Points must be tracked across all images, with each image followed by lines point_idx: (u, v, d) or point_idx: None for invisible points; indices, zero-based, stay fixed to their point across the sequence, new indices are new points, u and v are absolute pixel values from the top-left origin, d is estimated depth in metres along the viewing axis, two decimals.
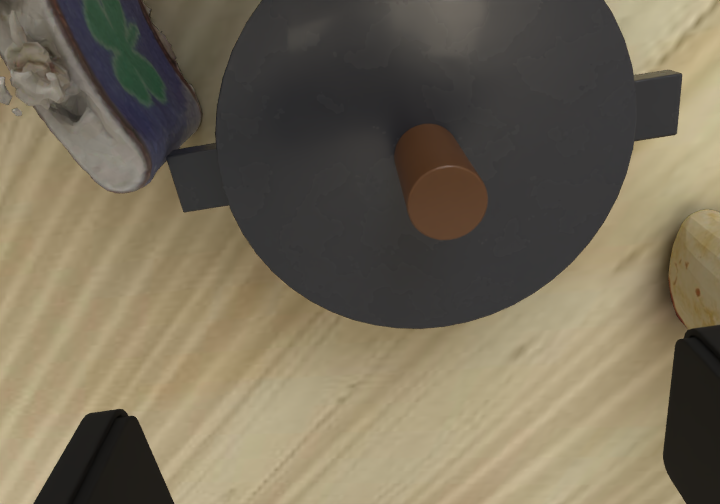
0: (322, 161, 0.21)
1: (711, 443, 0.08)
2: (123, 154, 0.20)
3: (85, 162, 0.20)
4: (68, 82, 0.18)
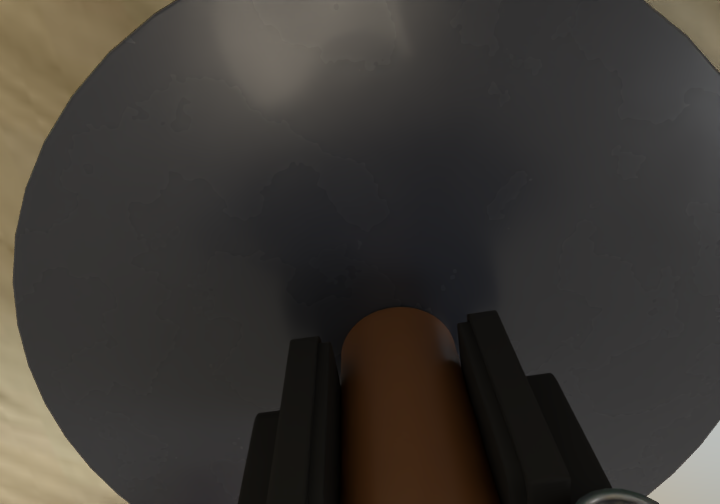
0: (392, 178, 0.10)
1: (474, 412, 0.10)
2: None
3: None
4: None
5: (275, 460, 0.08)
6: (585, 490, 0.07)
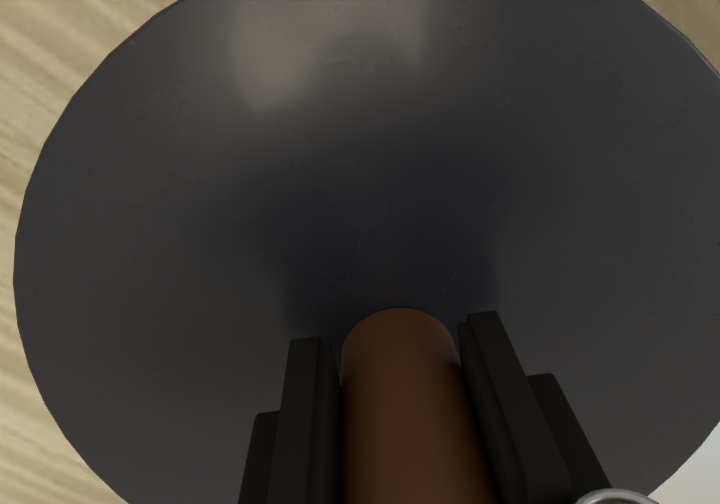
0: (391, 180, 0.10)
1: (474, 412, 0.10)
2: None
3: None
4: None
5: (275, 460, 0.08)
6: (585, 490, 0.07)
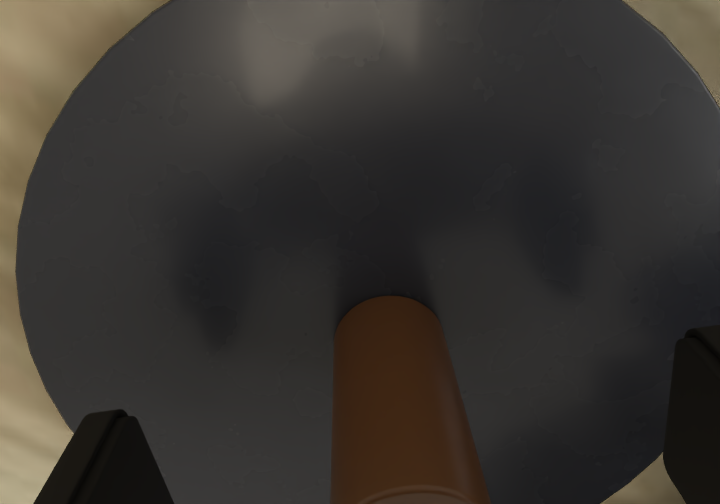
0: (381, 171, 0.11)
1: (711, 443, 0.08)
2: None
3: None
4: None
5: None
6: None
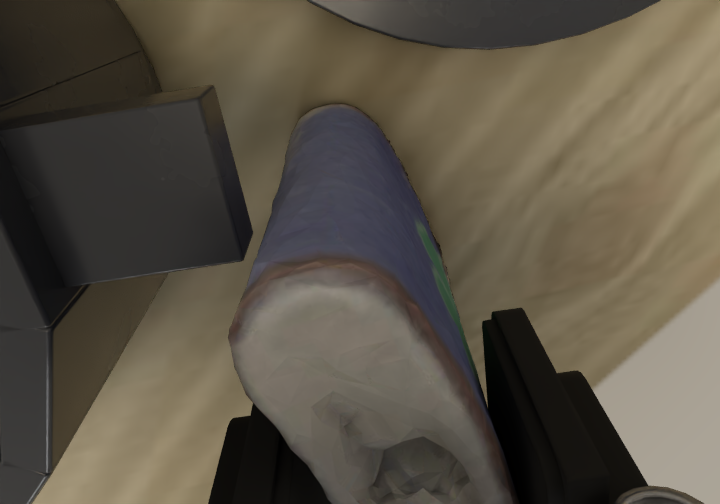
0: None
1: (500, 410, 0.10)
2: (298, 380, 0.07)
3: (411, 374, 0.07)
4: None
5: (242, 466, 0.08)
6: (621, 488, 0.07)
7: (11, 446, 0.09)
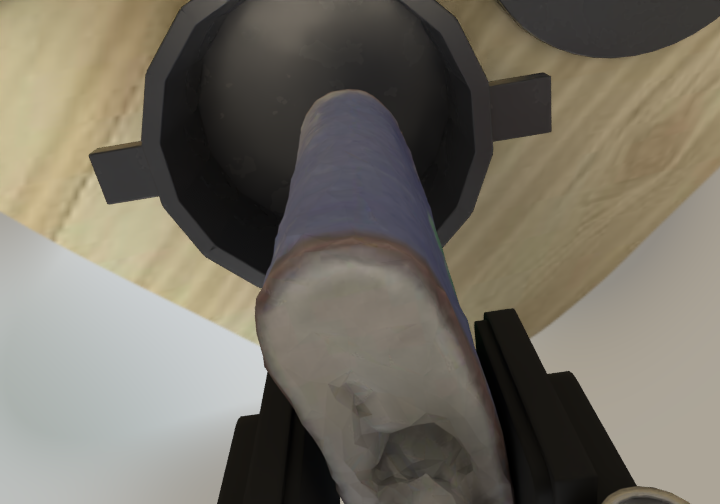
0: None
1: None
2: (319, 356, 0.07)
3: (434, 359, 0.07)
4: None
5: (252, 464, 0.08)
6: (609, 489, 0.07)
7: (463, 200, 0.25)
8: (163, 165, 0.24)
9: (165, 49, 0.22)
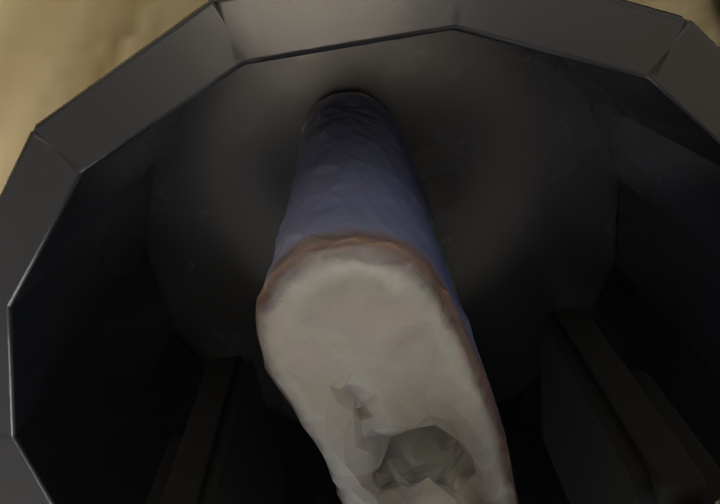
0: None
1: (563, 412, 0.09)
2: (320, 357, 0.07)
3: (437, 360, 0.07)
4: None
5: (166, 489, 0.08)
6: (707, 493, 0.07)
7: None
8: (29, 479, 0.10)
9: (1, 234, 0.08)
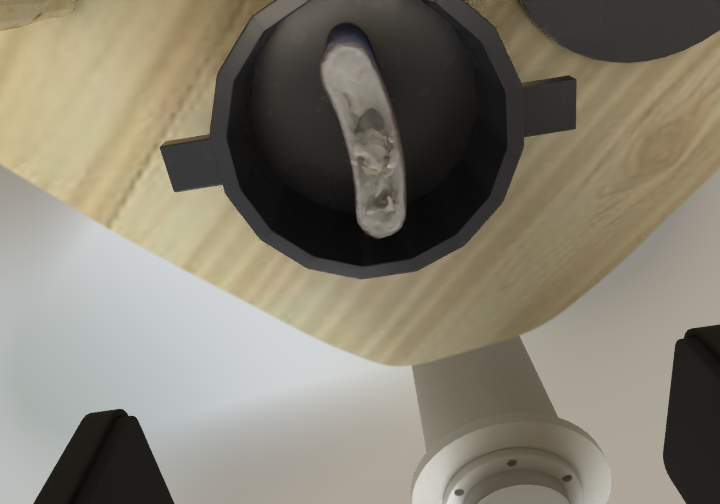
0: None
1: (711, 443, 0.08)
2: (337, 79, 0.24)
3: (370, 78, 0.24)
4: None
5: None
6: None
7: (495, 190, 0.28)
8: (228, 157, 0.27)
9: (236, 53, 0.25)
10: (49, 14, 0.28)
